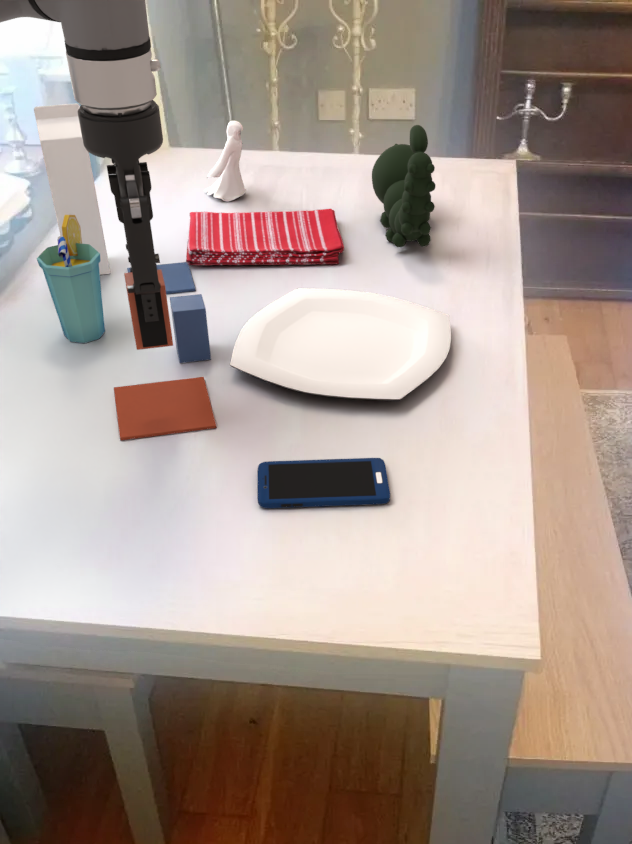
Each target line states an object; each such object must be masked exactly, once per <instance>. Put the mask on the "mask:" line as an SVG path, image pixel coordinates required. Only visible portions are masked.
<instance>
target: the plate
mask: <svg viewBox="0 0 632 844" xmlns="http://www.w3.org/2000/svg"><path fill="white" fill-rule="evenodd" d="M451 341H452V330H451V319H450V315H449V314H448V313H445V312H443V311H439V310H437V309H434V308H431V307H427V306H424V305H422V304H419V303H415V302H411V301H409V300H407V299H406V300H405V299H402V298H398V297H394V296H390V295H385V294H381V293H378V292H368V291H361V290H352V289H351V290H350V289H336V288H334V289H333V288H332V289H331V288H308V287H307V288H304V287H303V288H302V287H298V288H295V289H293V290H291V291H289V292H287V293H286V294H284V295H282V296H281V297H279V298H277V299H275V300H274V301H272V302H271V303H268V304H267V305H266V306H264V307H262V309H260V310H258V311H257V312H256V313H255V314H254V315H252V317H250V318H249V319H248V320H247V321H246V323H244V324H243V327H242V328H241V329H240V331H239V334H238V335H237V337H236V340H235V343H234V347H233V350H232V354H231V359H230V363H229V366H230V367H231V368H233V369H236V370H238V371H239V372H242V373H244V374H247V375H250V376H251V377H254V378H257V379H259V380H262V381H265V382H266V383H269V384H272V385H276V386H278V387H282V388H285V389H288V390H292V391H295V392H299V393H303V394H307V395H313V396H314V395H315V396H320V397H328V398H337V399H339V398H340V399H350V400H367V401H401V400H402V399H404V398H405V397H406V396H408V395H409V394H411V393H412V392H413V391H415V390H416V389H417V388H418V387H420V386H422V384H424V383H425V382H426V381H427V380H429V379H430V378H431V377H432V376H433V375H434V374H435V373H436V372H437V371H438V370H439V369H440V367H441V366H442V365H443V363H444V362H445V361H446V359H447V357H448V353H449V352H450V348H451Z"/></svg>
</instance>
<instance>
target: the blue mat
mask: <svg viewBox="0 0 632 844" xmlns="http://www.w3.org/2000/svg"><path fill="white" fill-rule="evenodd" d="M156 266H157V270H160V269H161V270H162V274H163V279H164V283H165V288H166V295H171V294H180V293H181V294H182V293H190V292H196V290H197V289H196V286H195V282H194V279H193V275H192V272H191V268H190V265H188V264H187V263H186V261H183V262H182V261H181V262H172V263H162V264H161V263H159V264H156ZM130 268H131V266H130V267H127V268H126V270H127V273H130Z"/></svg>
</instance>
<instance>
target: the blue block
mask: <svg viewBox="0 0 632 844" xmlns="http://www.w3.org/2000/svg"><path fill="white" fill-rule="evenodd" d="M169 303H170V311H171V319H172V326H173V334H174V341H175V342H174V343H175V349H176V352H177V357H178V358H177V359H178V361H179V364H185V363H193V362H201V361H210V360H211V359H212V356H211V347H210V337H209V327H208V326H209V325H208V318H207V308H206V304H205V301H204V298H203V295H202V293H199V294H198V293H197V294H188V295H179V296H178V295H177V296H170V297H169Z"/></svg>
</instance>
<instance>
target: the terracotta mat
mask: <svg viewBox="0 0 632 844" xmlns="http://www.w3.org/2000/svg"><path fill="white" fill-rule="evenodd" d="M206 383H207V382H206V380H205V377H204V376H197V377H190V378H189V377H188V378H182V379H172V380H164V381H156V382H147V383H140V384H139V383H138V384H130V385H122V386H114V387H113V393H114V401H115V410H116V418H117V425H118V433H119V439H120V440H119V441H128V440H135V439H137V440H138V439H143V438H150V437H158V436H159V437H160V436H166V435H174V434H182V433H190V432H197V431H205V430H212V429H213V430H214V429H217V427H218V426H217V422H216V418H215V415H214V410H213V407H212V403H211V400H210V399H211V398H210V394H209V391H208V388H207V384H206Z"/></svg>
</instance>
